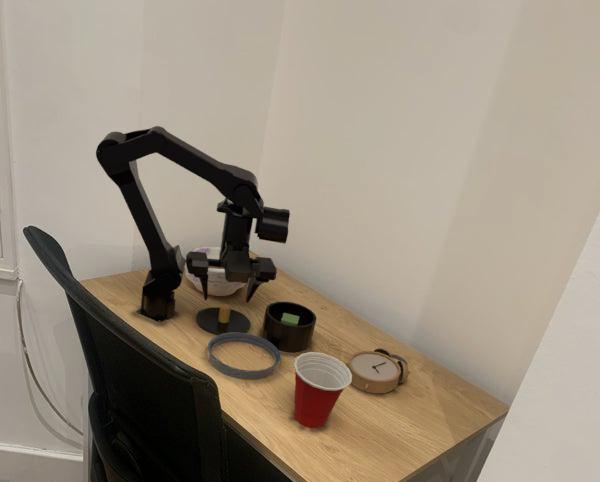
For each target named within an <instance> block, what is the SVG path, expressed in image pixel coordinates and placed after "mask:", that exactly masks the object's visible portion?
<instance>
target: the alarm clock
mask: <svg viewBox="0 0 600 482" xmlns="http://www.w3.org/2000/svg"><path fill="white" fill-rule="evenodd" d="M396 360H397V361H396ZM347 363H348V364H347V367H348V368H349V370H350V372H351V374H352V381H351V383H350V385H352V386H354V387H356V388H357V389H358V390H361V391H364V392H365V393H366V392H367V393H370V394H385V393H390V392H392V391H393V390H395V389H396V388H397V386H398V384H400V383H404V382H406V381H407V379H408V378H409V375H410V374H411V371H410V369H409V362H408V361H407V360H406V359H405V358H404V357H402V356H400V355H398V354H394V353H391V352H390V351H389V350H388V349H386V348H384V347H377V348H376V349H374V350H361V351H357V352H354V353H353V354H351V356H350V357H349V359H348V362H347Z"/></svg>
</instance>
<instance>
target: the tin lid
mask: <svg viewBox="0 0 600 482" xmlns="http://www.w3.org/2000/svg"><path fill="white" fill-rule="evenodd" d="M195 321H196V324H197V325H198V327H200V329H202V331H203V330H204V331H205V332H207V333H209V334H212V335H215V336H218V335H220V334H223V333H230V332H241V333H248V332H249V331H250V329H251V325H252V323H251V321H250V319H249V318H248V317H247V316H246V315H245V314H244V313H242V312H239V310H235V309H232V306H231V305H230V304H228V303H221V304H220V305H219V306H214V307H213V306H212V307H207V308H203V309H201V310H199V311H198V312H197V314H196V316H195Z"/></svg>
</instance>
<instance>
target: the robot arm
mask: <svg viewBox="0 0 600 482" xmlns="http://www.w3.org/2000/svg"><path fill="white" fill-rule="evenodd" d="M152 154H158V155H160V156H162V157H164V159H165V158H166V159H167V160H169V161H170V162H173V163H174V164H176V165H177V166H180V167H181V168H183V169H185V170H187V171H188V172H190V173H192V174H194V175H196V176H197V177H199V178H201V179H202V180H204V181H206V182H208V183H210V184H211V185H212V186H213V187H214V188H215V189H216V190H217V191H218V192H219V193H220V194H221V196H223V197H224V199H223V200H222V201H219V202H218V203H217V205H216V212H217V213H221V214H224V220H223V228H222V232H221V241H220V242H221V243H220V247H219V248H220V253H219V259H208V258H207V255H206V253H205V252H194V251H191V250H190V251H188V252H187V254H186V256H185V257H184V256H183V255H182V250H181V247H180V245H179V244H177V245H175V246H173V245H171V243H170V242H169V241H168V240H167V238H166V236H165V234H164V232H163V229H162V227H161V225H160V222H159V220H158V217H157V215H156V213H155V211H154V209H153V206H152V204H151V202H150V200H149V197H148V194H147V192H146V189H145V187H144V186H143V183H142V181H141V179H140V176H139V175H140V174H139V168H138V161H137V160H140V159H142V158H144V157H147V156H149V155H152ZM95 157H96V160H97V162H98V163H99V166H100V167H101V168H102V169H103V171H104V172H105V174H106V175H107V177H108V178H109V179H110V180H111V181H112V182H113V183H114V184H115V185H116V186H117V188H118V189H119V191H120V193H121V195H122V198H123V199H124V201H125V204H126V206H127V208H128V210H129V212H130V214H131V216H132V219H133V221H134V223H135V226H136V228H137V230H138V232H139V234H140V236H141V239H142V241H143V243H144V245H145V247H146V250H147V252H148V256H149V257H148V258H149V264H150V269H149V270H148V272H147V275H146V277H145V279H144V283H143V285H142V289H141V302H140V303H141V304H140V309H138V310H136V311H135V312H136V314H139V315H141V316H143V317H145V318H148V319H150V320H152V321H154V322H157V323H162V322H164V321H167V320H169V319H171V318H173V317H174V316H175V315H176V314H177V311H175V309H176V299H175V290H177V289H179V288H180V286H181V285H182V282H183V278H184V275H185V268H186V265H187V269H188V273H190V274H194V277H196V278H199V279H200V282H201V285H202V290H203V292H202V294H203V299H204V301H205V302H207V301H208V295H209V294H208V278H209V277H208V273H207V272H208V268H215V269H224V270H225V279H226V280H227V281H228V282H241V283H246V284H247V288H246V293H245V304H249V303H250V301H251V299H252V298H253V296H254V294H255V293H256V291H257V290H258V289H259V288H260V286H261V285H263V284H265V283H266V284H268V283H269V282H270V281H275V280H276V278H277V273H278V271H277V267H276V265H275V263H274V261H273V259H272V258H271V257H264V256H263V257H261V256H255V257H254V258H253V257H251V256H250V240H251V234H252V228H253V222H254V219H255V224H254V230H253V231H254V232H253V233H254V234H255V235H256V238H258V240H262V241H267V242H273V243H279V244H283V245H286V243H287V240H288V236H289V223H290V216H291V211H290V209H287V208H275V207H271V206H270V207H269V206H265V202H264V199H263V198H262V196H261V194H260V192H259V190H258V189H259V182H258V178H257V177H256V175H255V174H254V173H253V172H252V171H250V170H248V169H244V168H242V167H240V166H237V165H233V164H228V163H224V162H221V161H219V160H218V159H216V158H214V157H212V156H210V155H208V154H207V153H205V152H203V151H202V150H200V149H198V148H196V147H195V146H193V145H191V144H189V143H188V142H186V141H185V140H182V139H181V138H179V137H178V136H175V135H174V134H173V133H170V132H169V131H168V130H166V129H165V128H164V127H162V126H160V125H155V126H152V127H150V128H146V129H138V130H134V131H130V132H126V133H123V132H121V131H111V132H109V133H107V134H106V135H105V137H104V138H103V139H101V141H100V143H98V145H97V147H96V150H95Z"/></svg>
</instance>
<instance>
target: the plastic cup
mask: <svg viewBox="0 0 600 482" xmlns="http://www.w3.org/2000/svg"><path fill="white" fill-rule="evenodd" d="M293 368H294V375H295V378H294V381H295V382H294V401H293V404H294V409H293V410H294V412H293V416H294V419H295V421H296V422H297V423H298V424H300V425H301V426H303V427H306V428H309V429H317V428H320V427H322V426H324V425H325V424H326V423H327V419H328V418H329V416H330V414H331V413H332V411H333V410H334V407H335V405H336V404H337V402H338V399H339V398H340V396H341V394H342V393H343V391H344V390H345V389H346V388H347V387H348V386H349V385H351V381H352V374H351V372H350V370H349V368H348V365H346V364H345V363H344V362H343V361H341V360H340V359H338V358H336V357H334V356H333V355H330V354H326V353H323V352H318V351H317V352H314V351H309V352H304V353H301V354H300V355H298V356H297V357H295V359H294V363H293Z"/></svg>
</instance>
